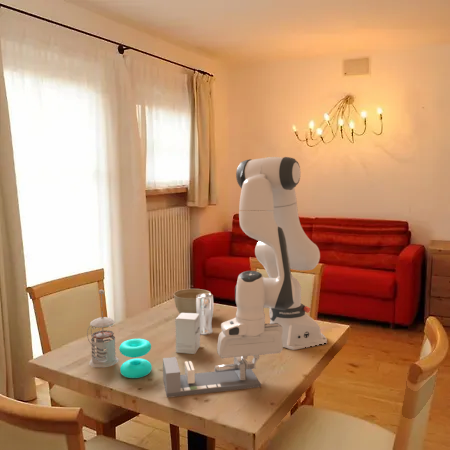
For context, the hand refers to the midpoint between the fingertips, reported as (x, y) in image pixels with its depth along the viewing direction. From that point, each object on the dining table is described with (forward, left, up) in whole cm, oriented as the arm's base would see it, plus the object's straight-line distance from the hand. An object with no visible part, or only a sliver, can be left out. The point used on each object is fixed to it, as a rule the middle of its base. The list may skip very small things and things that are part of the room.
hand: (250, 368), depth 146 cm
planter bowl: (+8, -63, -4) cm, 64 cm away
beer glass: (+6, -44, -4) cm, 45 cm away
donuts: (+34, -13, -4) cm, 37 cm away
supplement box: (+15, -28, -4) cm, 32 cm away
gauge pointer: (+19, 0, -1) cm, 19 cm away
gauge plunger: (+7, 0, -2) cm, 7 cm away
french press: (+45, -25, -4) cm, 52 cm away
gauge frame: (+12, 0, -4) cm, 13 cm away
